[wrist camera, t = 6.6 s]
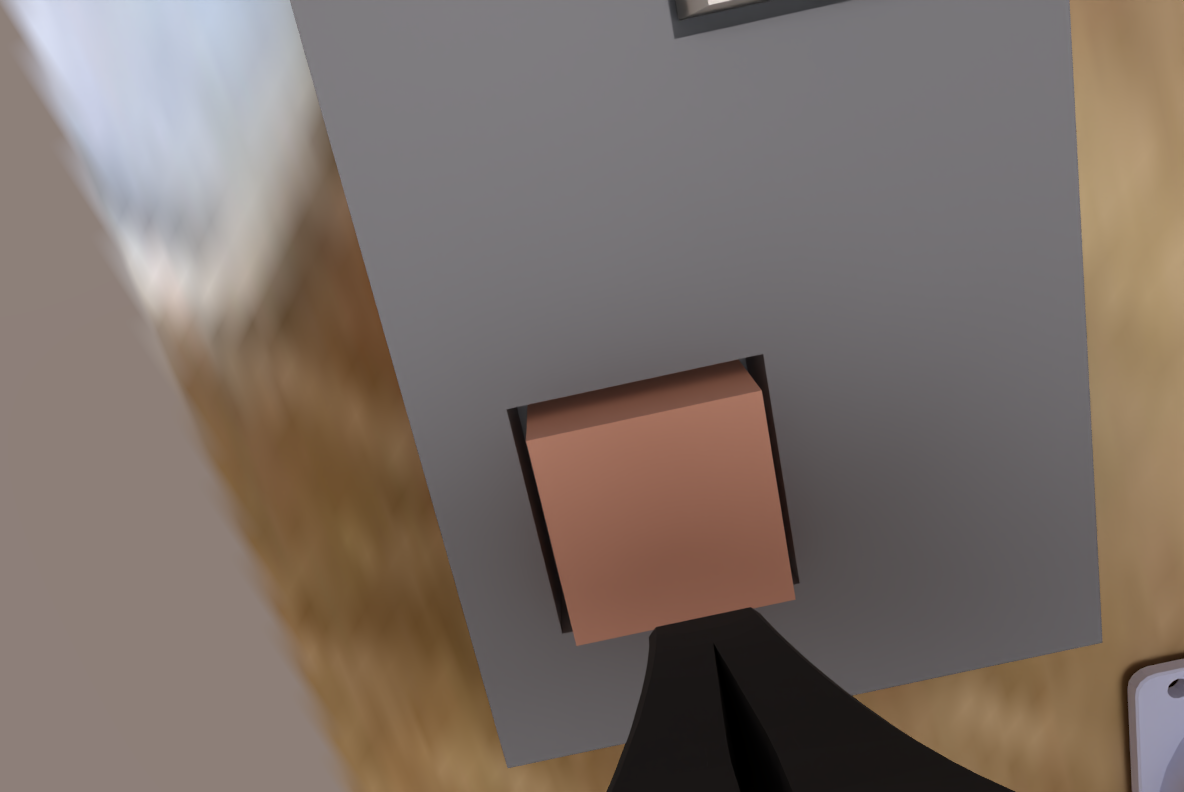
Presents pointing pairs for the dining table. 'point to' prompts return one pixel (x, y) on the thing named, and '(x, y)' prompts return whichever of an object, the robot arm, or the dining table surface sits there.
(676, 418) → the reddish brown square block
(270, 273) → the dining table surface
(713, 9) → the white key
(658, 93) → the key panel
